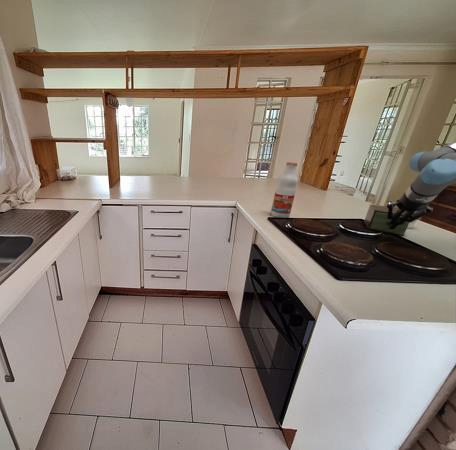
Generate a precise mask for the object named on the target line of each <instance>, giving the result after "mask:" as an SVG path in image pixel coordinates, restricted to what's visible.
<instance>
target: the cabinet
mask: <svg viewBox="0 0 456 450" xmlns="http://www.w3.org/2000/svg"><path fill="white" fill-rule="evenodd" d="M398 209H399V208H398V207H394V208H393V211H392V214H395V212H396V211H397V210H398ZM376 212H380V213H386V214H388V208H387V205H386V206H385V205H379V204H371V203H370V204H369V207H368V210H367V212H366V215H365V218H364V221H363V224H364V225H365V227H366V229H367V230H371V231H375V232H381V233H386V234H391V235H397V236H403V237H404V235H405V234H406V231H407V230H408V228H407V227H408V224H409V222H408V224H407V227H406V229H405V231H404V234H398V233H393V232H387V231H382V230H376V229H371V228H370V226H371V223H372V221H373V218H374V216H375V213H376ZM405 212H406V211H405ZM405 212H404V213H405ZM404 213H402V215H403V214H404ZM402 215H401V216H402ZM367 226H368V227H367Z"/></svg>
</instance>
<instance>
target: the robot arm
mask: <svg viewBox="0 0 456 450" xmlns="http://www.w3.org/2000/svg"><path fill="white" fill-rule="evenodd" d="M408 164H409V168H410V170H412V171H414V172H418V173H419V174H418V175H417V176H416V177H415V179H414V181H412V183H411V184H410V185H409V186H408V187H407V189H406V190H405V192H404V193H403V194H402V195H401V196H400V198H399V199H397V200H395V201H393V200H387V201H386V202H387V203H386V207H387V208H388V216H387V219H390V222H389V224H390V226H389V229H392V230H394V229H395V228H396V227H397V226H398V225H402V224H405V222H406V221H408V222H409V223H411V222H413V221H415V220H417V221H418V220H419V219H421V218H422V217H424V216H426V215H430V214H433V213H434V211H433V210H434V206H433V205H430V203H432V202H433V201H434V200H435V198H437V197H438V195H440V193H441V192H442V191H443V190H444V189H445V188H447V187H449V186H452V185H456V140H455V141H452V142H450V143H447V144H446V145H444V146H441V147H439V148H437V149H435V150H432V151H429V150H427V151H420V152H417V153H415V154H414V155H413V156H412V157H411V158H410V161H409V163H408ZM393 208H399V209H398V210H397V211H396V212H395V214H393V215H392V211H393ZM405 211H406V212H405ZM416 211H417V212H416ZM404 212H405V213H404ZM402 213H404V214H403V215H402ZM401 215H402V217H400V216H401Z"/></svg>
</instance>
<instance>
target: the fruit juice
mask: <svg viewBox="0 0 456 450" xmlns="http://www.w3.org/2000/svg"><path fill="white" fill-rule="evenodd" d="M297 167H298V163H297V162H287V161H286V162H285V168H284V170H283V171H282V173H280V176H279V177H278V180H277V186H276V187H275V191H274V194H273V199H272V205H271V209H270V215H271V216H273V217H277V218H280V219H281V218H282V219H287V218H289V217H290V215H291V213H292V208H293V204H294V200H295V197H296V191H297V190H296V187H297V185H298V183H299V178H298V174H297Z"/></svg>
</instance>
